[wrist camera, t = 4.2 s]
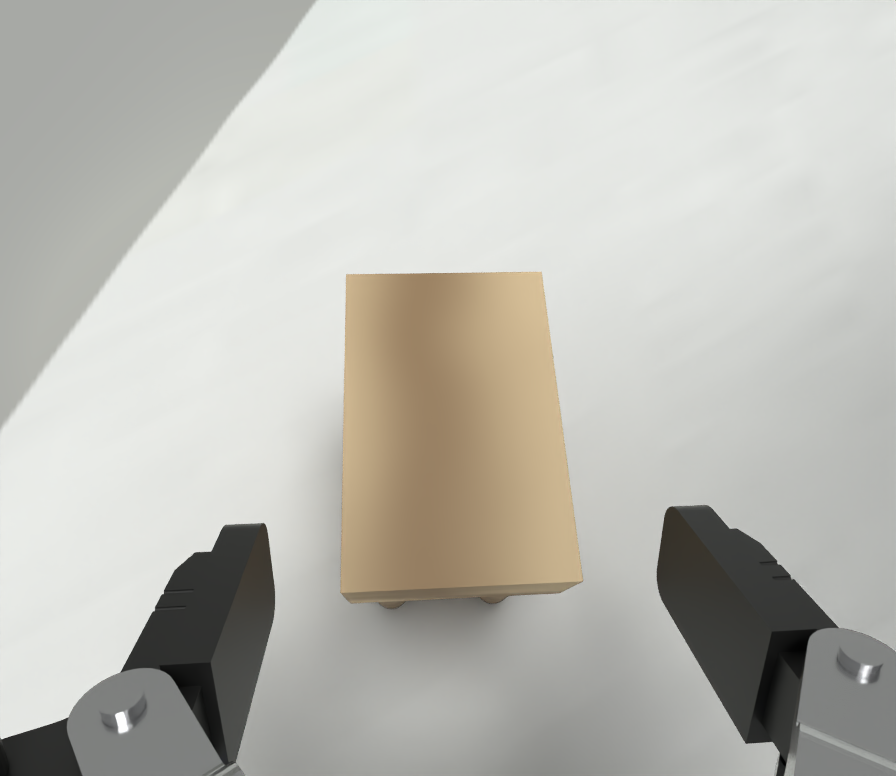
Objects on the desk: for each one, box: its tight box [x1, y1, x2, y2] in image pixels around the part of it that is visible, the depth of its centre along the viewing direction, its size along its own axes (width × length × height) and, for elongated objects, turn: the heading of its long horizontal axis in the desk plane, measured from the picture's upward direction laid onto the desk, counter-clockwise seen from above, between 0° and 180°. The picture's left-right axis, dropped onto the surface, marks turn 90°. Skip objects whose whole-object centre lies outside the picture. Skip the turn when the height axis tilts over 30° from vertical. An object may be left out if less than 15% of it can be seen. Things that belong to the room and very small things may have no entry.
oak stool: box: [340, 272, 583, 609], centre depth 19 cm, size 5×8×9 cm, turn 3°
